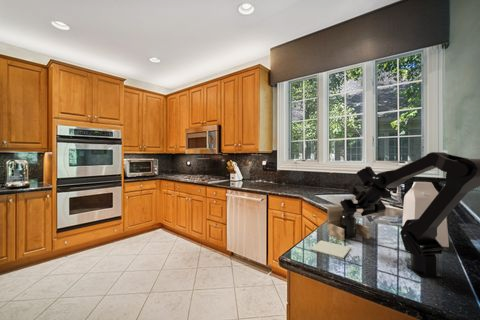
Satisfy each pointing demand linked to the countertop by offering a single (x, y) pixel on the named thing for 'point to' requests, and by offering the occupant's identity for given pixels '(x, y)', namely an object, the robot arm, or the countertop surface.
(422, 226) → the robot arm
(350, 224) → the supplement bottle
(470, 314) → the countertop surface
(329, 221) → the open box
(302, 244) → the countertop surface
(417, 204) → the milk
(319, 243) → the mat
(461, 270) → the countertop surface
